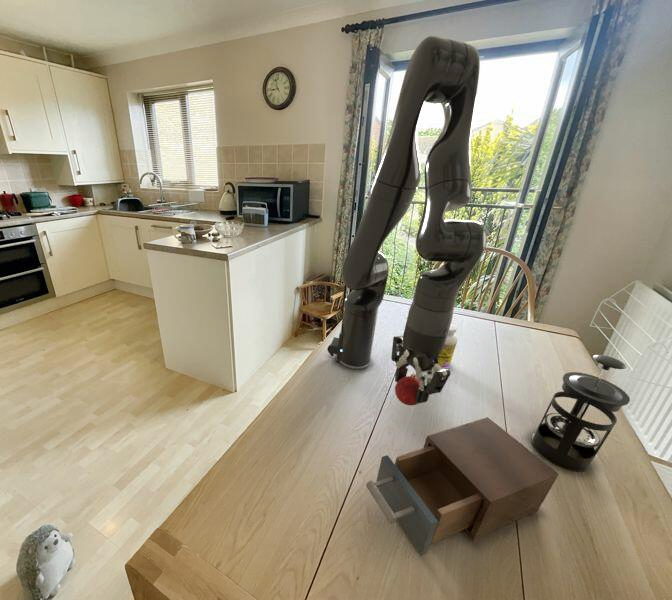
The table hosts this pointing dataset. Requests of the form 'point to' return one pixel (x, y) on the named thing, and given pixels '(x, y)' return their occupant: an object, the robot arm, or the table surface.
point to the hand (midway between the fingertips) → (409, 391)
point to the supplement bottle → (448, 348)
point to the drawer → (425, 496)
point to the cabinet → (495, 472)
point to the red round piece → (407, 389)
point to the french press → (580, 417)
